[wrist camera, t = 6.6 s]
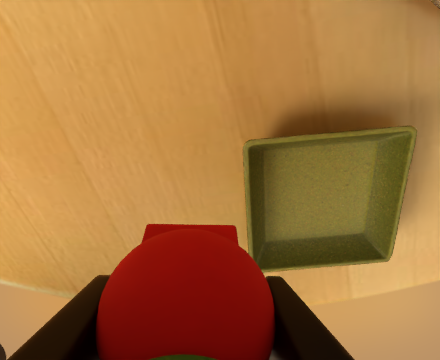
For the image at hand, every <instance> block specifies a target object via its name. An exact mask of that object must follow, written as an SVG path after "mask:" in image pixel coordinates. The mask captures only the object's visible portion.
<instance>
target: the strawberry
mask: <svg viewBox="0 0 440 360" xmlns="http://www.w3.org/2000/svg"><path fill="white" fill-rule="evenodd" d="M274 339H275V311H274V303H273V297H272V294H271V291H270V288H269V285H268V282H267V280H266V278H265V276H264V275H263V273H262V271H261V269H260V268H259V266H258V265H257V264H256V262H255V261H254V260H253V258H252V257H251V256H250V255H249V254H248V253H247V252H246V251H245V250H244V249H242V248H241V247H240V246H239V245H238V237H237V230H236V227H235V226H234V225H184V224H148V225H147V226H146V229H145V233H144V237H143V240H142V244H140V245H139V246H137V247H136V248H134V249H133V250H132V251H131V252H130V253H129V254H128V255H127V256H126V257H125V258H124V259H123V260H122V261H121V262H120V263H119V264H118V266H117V267H116V268H115V270H114V271H113V273H112V274H111V276H110V278H109V280H108V281H107V283H106V285H105V288H104V290H103V292H102V295H101V299H100V302H99V307H98V314H97V320H96V347H97V351H98V356H99V360H269V359H270V356H271V352H272V349H273V345H274Z"/></svg>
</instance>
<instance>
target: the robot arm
mask: <svg viewBox="0 0 440 360" xmlns="http://www.w3.org/2000/svg"><path fill="white" fill-rule="evenodd" d="M110 276H111V275H98V276H97V277H95V278H94V279H93V280H92V281H91V282H90V283H89V284H88V285H87V286H86V287H85V288H84V289H82V290H81V291H80V292H79V293H78V294H77V295H76V296H75V297H74V298H73V299H72V300H71V301H70V302H69V303H67V304H66V305H65V306H64V307H63V308H62V309H61V310H60V311H59V312H58V313H57V314H56V315H55V316H53V317H52V318H51V319H50V320H49V321H48V322H47V323H46V324H45V325H44V326H43V327H42V328H41V329H40V330H39V331H37V332H36V333H35V334H34V335H33V336H32V337H31V338H30V339H29V340H28V341H27V342H26V343H25V344H23V345H22V347H20V348H19V349H18V350H17V351H16V352H15V353H14V354H13V355H12V356H11V357H10V358H9V359H7V360H99V356H98V351H97V347H96V320H97V314H98V307H99V302H100V299H101V295H102V292H103V290H104V288H105V285H106V283H107V281H108V280H109V278H110ZM265 278H266V280H267V282H268V285H269V288H270V291H271V294H272V297H273V303H274V311H275V339H274V345H273V349H272V352H271V356H270V359H269V360H354V359H353V357H352V356H351V355H350V354H349V353H348V352H347V351H346V350H345V348H344V347H343V346H342V345H341V344H340V343H339V342H338V340H337V339H336V338H335V337H334V336H333V335H332V334H331V333H330V331H329V330H328V329H327V328H326V327H325V326H324V325H323V323H322V322H321V321H320V320H319V319H318V318H317V317H316V315H315V314H314V313H313V312H312V311H311V310H310V309H309V308H308V306H307V305H306V304H305V303H304V302H303V301H302V300H301V298H300V297H299V296H298V295H297V294H296V293H295V292H294V291H293V289H292V288H291V287H290V286H289V285H288V284H287V283H286V282H285V280H284V279H283V278H282V277H280V276H267V277H265Z"/></svg>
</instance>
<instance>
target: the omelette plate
mask: <svg viewBox="0 0 440 360" xmlns="http://www.w3.org/2000/svg"><path fill="white" fill-rule="evenodd" d="M430 1H431V2H432V3H434V4H435V5H436V6H437V7H438V8H439V9H440V0H430Z"/></svg>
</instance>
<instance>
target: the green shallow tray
mask: <svg viewBox="0 0 440 360" xmlns="http://www.w3.org/2000/svg"><path fill="white" fill-rule="evenodd" d="M416 136H417V129H416V128H415V127H413V126H400V127H388V128H378V129H366V130H355V131H344V132H332V133H321V134H310V135H298V136H288V137H276V138H265V139H253V140H249V141H247V142H246V143H245V144H244V146H243V166H244V181H245V199H246V216H247V236H248V254H249V255H250V256H251V257H252V258H253V260H254V261H255V262H256V264H257V265H258V266H259V268H260V269H261V271H262V273H265V272H276V271H287V270H298V269H309V268H320V267H332V266H344V265H356V264H368V263H379V262H387V261H389V260H390V258H391V256H392V253H393V249H394V244H395V239H396V235H397V229H398V224H399V219H400V213H401V208H402V203H403V198H404V193H405V188H406V184H407V179H408V174H409V169H410V164H411V161H412V156H413V151H414V147H415V142H416Z"/></svg>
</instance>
